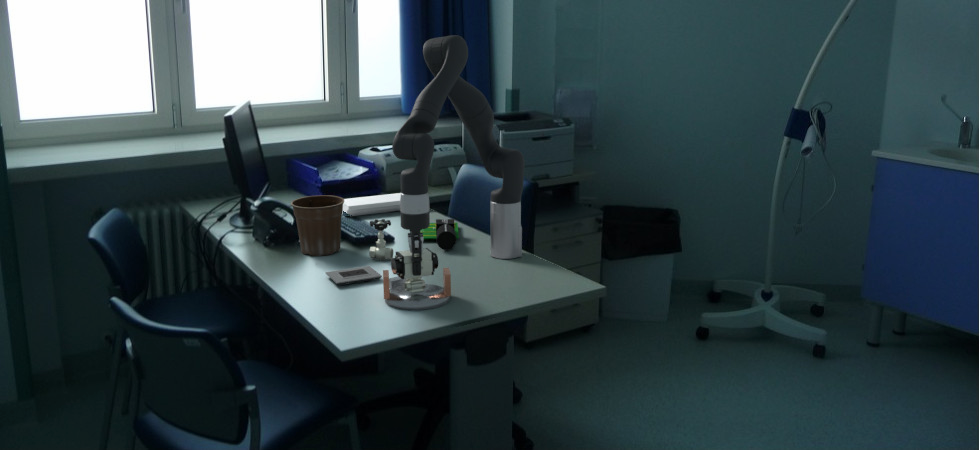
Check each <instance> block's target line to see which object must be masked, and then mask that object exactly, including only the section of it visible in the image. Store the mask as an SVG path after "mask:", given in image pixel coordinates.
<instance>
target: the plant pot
mask: <svg viewBox="0 0 980 450" xmlns="http://www.w3.org/2000/svg"><path fill="white" fill-rule="evenodd" d="M344 199H345V198H343V197H341V196H337V195H326V194H324V195H323V194H322V195H321V194H320V195H309V196H302V197H299V198H296V199H293V200H292V201H291V202H290V206H291V207H292V209H293V216H294V217H295V221H296V226H297V231H298V232H297V233H298V237H299V244H300V250H301V253H302V254H303V255H310V256H314V257H317V256H318V257H325V256H328V255H330V256H331V255H334V253H338V252H340V250H341V239H342V238H341V236H342V215H343V203H344Z"/></svg>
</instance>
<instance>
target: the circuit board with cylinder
mask: <svg viewBox="0 0 980 450" xmlns="http://www.w3.org/2000/svg"><path fill="white" fill-rule="evenodd" d="M458 225H459V224H458V222H455V218H444V219H443V218H441V219H440V218H439V219H438V218H437V219H435V222H430V226H429V227H428V228H426V229H422V230H420V233H423V239H424V240H436V244H437V246H438V247H439V248H440V249H441V250H444V251H449V250H452V249H453V248H454V247H455V246H456V243H457V239H460V234H459V226H458Z"/></svg>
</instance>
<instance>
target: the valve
mask: <svg viewBox="0 0 980 450" xmlns="http://www.w3.org/2000/svg"><path fill="white" fill-rule="evenodd" d="M369 226H370V228H371V227H373V228H374V229H375V230H376V231H377V232H378V233H377V238H378V239H377V241H375V245H376V246H370V248H369V250H368V251H369V254H368V255H369V258H370V259H372V260H373V259H374V260H379V261H384V260H388V261H391V259H392V258H394V249H393V248H392V247H386V246H387V241H386V240H385V239H384V238H385V236H384V235H385V234H384V232H383V231H384V230H386V229H387V228H388V226H389V227H390V226H392V222H391V219H385V218H381V219H380V220H379V219H378V218H377V219H374V220H370V221H369Z"/></svg>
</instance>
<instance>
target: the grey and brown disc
mask: <svg viewBox="0 0 980 450" xmlns="http://www.w3.org/2000/svg"><path fill="white" fill-rule="evenodd" d="M389 271H390V270H389V269H385V270H384V269H383V270H382V282H383V284H382V285H383V300H384V302H385V304H386V305H387V306H389V307H391V308H393V309H397V310H400V311H401V310H402V311H411V312H412V311H427V310H432V309H437V308H440V307H442V306H445V305H446V304H447V303H448V302H449V301H450V297H451V296H452V291H451V290H452V285H451V284H452V282H451V281H452V280H451V279H452V278H451V276H452V275H451V272H450V271H451V270H450V268H449V267H442V279H443V281H442V282H443V284H442V285H443V286H440V285H437V284H431V283H430V284H429V283H426V287H425V288H424V291H423V292H420V293H413V294H411V293H410V292H409V291H406V290H405V287H404V285H401V286H397V287H394V288H392V289H390V288H389V278H390V275H389V274H390V272H389Z"/></svg>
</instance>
